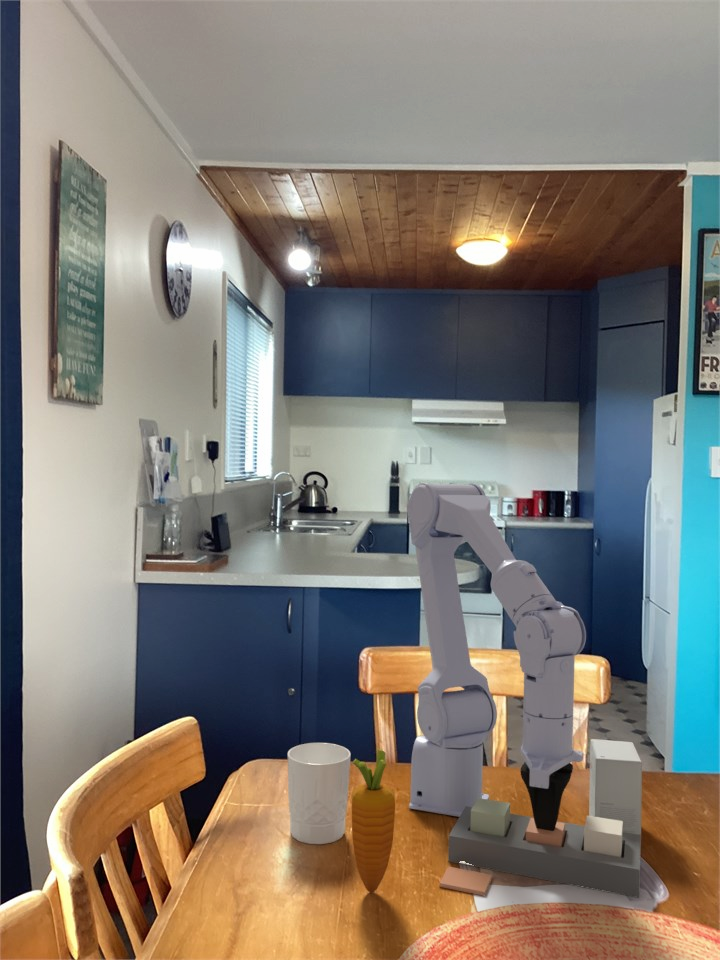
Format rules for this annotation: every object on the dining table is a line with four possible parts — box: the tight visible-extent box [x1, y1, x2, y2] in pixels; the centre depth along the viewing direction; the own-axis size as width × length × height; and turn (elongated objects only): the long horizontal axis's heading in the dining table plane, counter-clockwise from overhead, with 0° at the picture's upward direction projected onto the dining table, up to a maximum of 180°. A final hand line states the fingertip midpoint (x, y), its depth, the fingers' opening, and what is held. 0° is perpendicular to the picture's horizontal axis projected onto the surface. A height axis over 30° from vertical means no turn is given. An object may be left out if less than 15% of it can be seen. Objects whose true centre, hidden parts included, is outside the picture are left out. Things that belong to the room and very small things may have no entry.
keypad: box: [447, 806, 642, 898], centre depth 93 cm, size 21×9×3 cm, turn 70°
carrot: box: [351, 748, 396, 894], centre depth 85 cm, size 5×5×15 cm
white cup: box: [287, 742, 351, 845], centre depth 100 cm, size 8×8×10 cm
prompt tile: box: [439, 866, 493, 896], centre depth 88 cm, size 5×4×1 cm
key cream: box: [584, 815, 623, 857], centre depth 91 cm, size 4×4×4 cm
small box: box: [588, 738, 643, 836], centre depth 102 cm, size 8×6×10 cm
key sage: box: [470, 798, 511, 837], centre depth 96 cm, size 4×4×4 cm
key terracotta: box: [526, 818, 566, 847], centre depth 93 cm, size 4×4×4 cm
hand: (545, 827), depth 93 cm, fingers closed, pressing on key terracotta
